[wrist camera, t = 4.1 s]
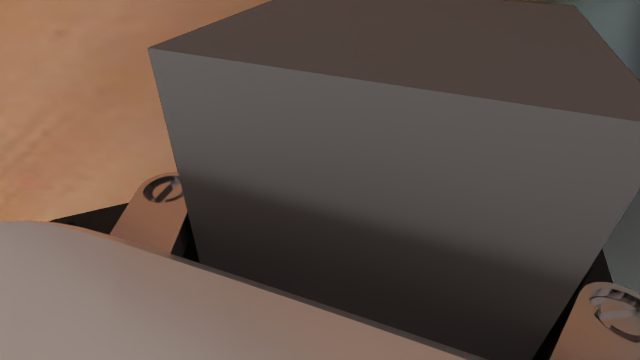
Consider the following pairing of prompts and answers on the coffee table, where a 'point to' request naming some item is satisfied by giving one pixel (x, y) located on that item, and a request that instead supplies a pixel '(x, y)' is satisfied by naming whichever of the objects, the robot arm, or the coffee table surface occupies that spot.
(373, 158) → the grey stepped block
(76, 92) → the coffee table surface
